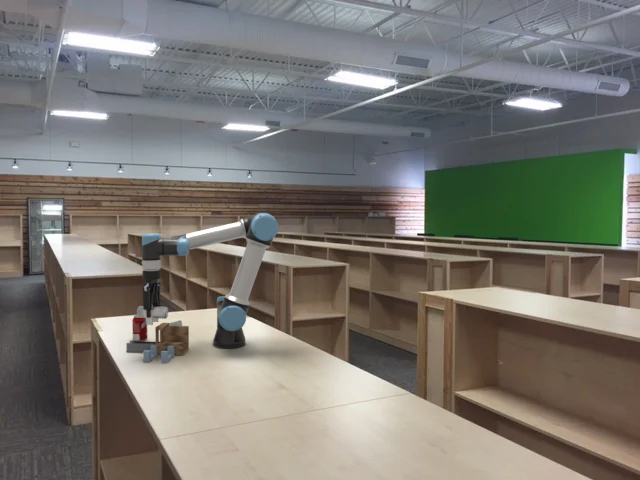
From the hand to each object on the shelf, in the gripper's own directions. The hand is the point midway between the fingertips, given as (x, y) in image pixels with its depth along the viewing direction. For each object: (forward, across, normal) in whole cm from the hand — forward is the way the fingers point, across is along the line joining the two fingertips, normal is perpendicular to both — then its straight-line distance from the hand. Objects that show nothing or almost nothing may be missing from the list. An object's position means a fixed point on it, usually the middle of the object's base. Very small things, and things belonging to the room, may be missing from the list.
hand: (152, 323), depth 232 cm
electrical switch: (+15, -27, -1) cm, 30 cm away
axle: (-2, 0, 0) cm, 2 cm away
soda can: (+15, -24, -17) cm, 33 cm away
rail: (+14, -6, -7) cm, 17 cm away
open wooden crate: (+15, -7, +6) cm, 17 cm away
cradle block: (+15, +4, +5) cm, 16 cm away
